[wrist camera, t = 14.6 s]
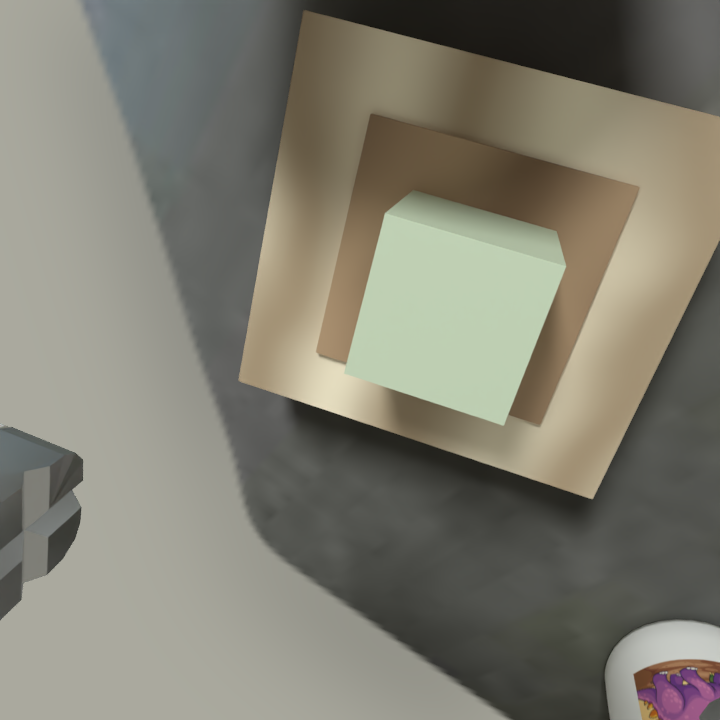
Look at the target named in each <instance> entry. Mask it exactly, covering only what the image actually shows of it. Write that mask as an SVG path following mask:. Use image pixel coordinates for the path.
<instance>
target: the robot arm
mask: <svg viewBox="0 0 720 720" xmlns="http://www.w3.org/2000/svg"><path fill="white" fill-rule="evenodd" d="M81 481H83V459H81V458H80V457H79V456H78V455H77V454H76V453H74V452H72V451H69V450H67V449H64V448H62V447H59V446H57V445H55V444H52V443H50V442H47V441H45V440H42V439H40V438H37V437H35V436H32V435H30V434H27V433H25V432H23V431H20V430H18V429H15V428H13V427H8V426H5V425H3V424H1V423H0V620H1V619H2V618H3V617H4V616H5V615H6V614H7V613H8V612H9V611H10V610H11V609H12V608H13V607H14V606H15V605H16V604H17V603H18V602H20V601H21V598H22V590H23V583H24V582H27V581H30V580H33V579H36V578H39V577H42V576H45V575H47V574H48V573H49V572H50V571H51V570H52V569H53V568H54V567H55V566H56V565H57V564H58V563H59V562H60V561H61V560H62V559H63V558H64V556H65V554H66V552H67V551H68V549H69V548H70V546H71V545H72V543H73V541H74V540H75V537H76V534H77V531H78V528H79V524H80V519H81V506H80V504H79V502H78V500H77V498H76V496H75V495H74V493H73V491H72V489H73V488H74V487H76V486H77V485H78V484H79V483H80V482H81ZM699 719H700V720H720V698H718V699H716V700H714V701H712V702H710V703H709V704H708V705H707V707H706V708H705V709H704V711H703V712H702V713H701V715H700V716H699Z"/></svg>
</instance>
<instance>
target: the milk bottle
mask: <svg viewBox="0 0 720 720" xmlns="http://www.w3.org/2000/svg"><path fill="white" fill-rule="evenodd" d="M605 684H606V694H607V701H608V709H609V716H610V720H700V719H699V716H700V715H701V713H702V712H703V711H704V709H705V708H706V707H707V705H708V704H709V703H710V702H712V701H714V700H716V699H718V698H720V627H719V626H716V625H713V624H710V623H707V622H701V621H696V620H690V619H671V620H662V621H657V622H653V623H650V624H646V625H643V626H641V627H639V628H637V629H635V630H632V631H631V632H630V633H628V634H627V635H626V636H624V637H623V638H622V639H621V640H620V641H619V642H618V643H617V644H616V645H615V647H614V649H613V651H612V652H611V654H610V656H609V658H608V661H607V664H606V668H605Z"/></svg>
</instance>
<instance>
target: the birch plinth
mask: <svg viewBox="0 0 720 720" xmlns="http://www.w3.org/2000/svg"><path fill="white" fill-rule="evenodd" d="M413 190H415V191H419V192H422V193H426V194H429V195H433V196H436V197H440V198H443V199H446V200H450V201H453V202H457V203H460V204H464V205H467V206H471V207H474V208H478V209H481V210H485V211H488V212H492V213H495V214H499V215H502V216H506V217H509V218H513V219H516V220H519V221H523V222H526V223H530V224H533V225H537V226H540V227H544V228H547V229H551V230H554V231H557V234H558V238H559V242H560V245H561V249H562V253H563V256H564V260H565V263H566V268H565V271H564V274H563V276H562V279H561V281H560V284H559V286H558V289H557V291H556V294H555V296H554V299H553V302H552V304H551V307H550V309H549V312H548V314H547V317H546V319H545V322H544V324H543V327H542V330H541V332H540V335H539V337H538V340H537V342H536V345H535V347H534V350H533V352H532V355H531V358H530V360H529V363H528V365H527V368H526V370H525V373H524V375H523V378H522V380H521V383H520V386H519V388H518V391H517V393H516V396H515V398H514V401H513V403H512V406H511V408H510V411H509V414H508V416H507V419H506V421H505V424H504V426H503V425H500V424H497V423H494V422H491V421H488V420H485V419H482V418H479V417H475V416H472V415H469V414H466V413H463V412H460V411H457V410H454V409H451V408H448V407H445V406H442V405H439V404H436V403H433V402H430V401H427V400H424V399H420V398H417V397H414V396H411V395H408V394H405V393H402V392H399V391H396V390H393V389H390V388H387V387H384V386H381V385H378V384H375V383H372V382H369V381H365V380H362V379H359V378H356V377H353V376H350V375H347V374H344V372H345V368H346V364H347V360H348V356H349V352H350V348H351V344H352V340H353V336H354V332H355V329H356V325H357V321H358V317H359V313H360V309H361V305H362V301H363V297H364V293H365V289H366V286H367V282H368V278H369V274H370V270H371V266H372V262H373V258H374V254H375V250H376V246H377V243H378V239H379V235H380V231H381V227H382V223H383V219H384V215H385V213H386V212H387V211H388V210H389V209H391V208H392V207H393V206H394V205H396V204H397V203H398V202H399V201H400V200H402V199H403V198H404V197H405V196H407V195H408V194H409V193H410V192H411V191H413ZM719 240H720V117H718V116H714V115H710V114H706V113H703V112H699V111H695V110H691V109H687V108H683V107H679V106H675V105H671V104H668V103H664V102H660V101H656V100H652V99H648V98H644V97H640V96H636V95H633V94H629V93H625V92H621V91H617V90H613V89H609V88H605V87H601V86H598V85H594V84H590V83H586V82H582V81H578V80H574V79H570V78H567V77H563V76H559V75H555V74H551V73H547V72H543V71H539V70H535V69H532V68H528V67H524V66H520V65H516V64H512V63H508V62H504V61H500V60H497V59H493V58H489V57H485V56H481V55H477V54H473V53H469V52H465V51H462V50H458V49H454V48H450V47H446V46H442V45H438V44H434V43H431V42H427V41H423V40H419V39H415V38H411V37H407V36H403V35H399V34H396V33H392V32H388V31H384V30H380V29H376V28H372V27H368V26H364V25H361V24H357V23H353V22H349V21H345V20H341V19H337V18H333V17H329V16H326V15H322V14H318V13H314V12H310V11H306V10H303V16H302V22H301V28H300V33H299V39H298V45H297V50H296V56H295V62H294V67H293V73H292V79H291V85H290V90H289V96H288V102H287V107H286V113H285V119H284V124H283V130H282V136H281V142H280V147H279V153H278V159H277V164H276V170H275V176H274V181H273V187H272V193H271V198H270V204H269V210H268V216H267V221H266V227H265V233H264V238H263V244H262V250H261V255H260V261H259V267H258V273H257V278H256V284H255V290H254V295H253V301H252V307H251V312H250V318H249V324H248V329H247V335H246V341H245V347H244V352H243V358H242V364H241V369H240V375H239V381H240V382H243V383H246V384H249V385H252V386H255V387H258V388H261V389H264V390H267V391H270V392H273V393H276V394H279V395H282V396H285V397H288V398H291V399H294V400H297V401H300V402H303V403H306V404H309V405H312V406H315V407H318V408H321V409H324V410H327V411H330V412H333V413H336V414H339V415H342V416H345V417H348V418H351V419H354V420H357V421H360V422H363V423H366V424H369V425H372V426H375V427H378V428H381V429H384V430H387V431H390V432H392V433H395V434H398V435H401V436H404V437H407V438H410V439H413V440H416V441H419V442H422V443H425V444H428V445H431V446H434V447H437V448H440V449H443V450H446V451H449V452H452V453H455V454H458V455H461V456H464V457H467V458H470V459H473V460H476V461H479V462H482V463H485V464H488V465H491V466H494V467H497V468H500V469H503V470H506V471H509V472H512V473H515V474H518V475H521V476H524V477H527V478H530V479H533V480H536V481H539V482H542V483H545V484H548V485H551V486H554V487H557V488H560V489H563V490H566V491H569V492H572V493H575V494H578V495H581V496H584V497H587V498H590V499H593V497H594V495H595V493H596V491H597V489H598V487H599V485H600V483H601V481H602V479H603V477H604V475H605V473H606V471H607V469H608V467H609V465H610V463H611V461H612V459H613V457H614V455H615V452H616V450H617V448H618V446H619V444H620V442H621V440H622V438H623V436H624V434H625V432H626V430H627V428H628V426H629V424H630V422H631V420H632V418H633V416H634V414H635V412H636V410H637V408H638V406H639V404H640V401H641V399H642V397H643V395H644V393H645V391H646V389H647V387H648V385H649V383H650V381H651V379H652V377H653V375H654V373H655V371H656V369H657V367H658V365H659V363H660V361H661V359H662V357H663V355H664V353H665V350H666V348H667V346H668V344H669V342H670V340H671V338H672V336H673V334H674V332H675V330H676V328H677V326H678V324H679V322H680V320H681V318H682V316H683V314H684V312H685V310H686V308H687V306H688V304H689V302H690V299H691V297H692V295H693V293H694V291H695V289H696V287H697V285H698V283H699V281H700V279H701V277H702V275H703V273H704V271H705V269H706V267H707V265H708V263H709V261H710V259H711V257H712V255H713V253H714V251H715V249H716V246H717V244H718V242H719Z"/></svg>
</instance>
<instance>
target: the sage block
mask: <svg viewBox="0 0 720 720" xmlns="http://www.w3.org/2000/svg"><path fill="white" fill-rule="evenodd" d="M565 268H566V263H565V260H564V256H563V253H562V249H561V245H560V242H559V238H558V234H557V231H554V230H551V229H547V228H544V227H540V226H537V225H533V224H530V223H526V222H523V221H519V220H516V219H513V218H509V217H506V216H502V215H499V214H495V213H492V212H488V211H485V210H481V209H478V208H474V207H471V206H467V205H464V204H460V203H457V202H453V201H450V200H446V199H443V198H440V197H436V196H433V195H429V194H426V193H422V192H419V191H415V190H413V191H411V192H410V193H409V194H408V195H407V196H405V197H404V198H403V199H402V200H400V201H399V202H398V203H397V204H396V205H394V206H393V207H392V208H391V209H389V210H388V211H387V212H386V213H385V215H384V219H383V223H382V227H381V231H380V235H379V239H378V243H377V246H376V250H375V254H374V258H373V262H372V266H371V270H370V274H369V278H368V282H367V286H366V289H365V293H364V297H363V301H362V305H361V309H360V313H359V317H358V321H357V325H356V329H355V332H354V336H353V340H352V344H351V348H350V352H349V356H348V360H347V364H346V368H345V372H344V374H347V375H350V376H353V377H356V378H359V379H362V380H365V381H369V382H372V383H375V384H378V385H381V386H384V387H387V388H390V389H393V390H396V391H399V392H402V393H405V394H408V395H411V396H414V397H417V398H420V399H424V400H427V401H430V402H433V403H436V404H439V405H442V406H445V407H448V408H451V409H454V410H457V411H460V412H463V413H466V414H469V415H472V416H475V417H479V418H482V419H485V420H488V421H491V422H494V423H497V424H500V425H503V426H504V424H505V421H506V419H507V416H508V414H509V411H510V408H511V406H512V403H513V401H514V398H515V396H516V393H517V391H518V388H519V386H520V383H521V380H522V378H523V375H524V373H525V370H526V368H527V365H528V363H529V360H530V358H531V355H532V352H533V350H534V347H535V345H536V342H537V340H538V337H539V335H540V332H541V330H542V327H543V324H544V322H545V319H546V317H547V314H548V312H549V309H550V307H551V304H552V302H553V299H554V296H555V294H556V291H557V289H558V286H559V284H560V281H561V279H562V276H563V274H564V271H565Z"/></svg>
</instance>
